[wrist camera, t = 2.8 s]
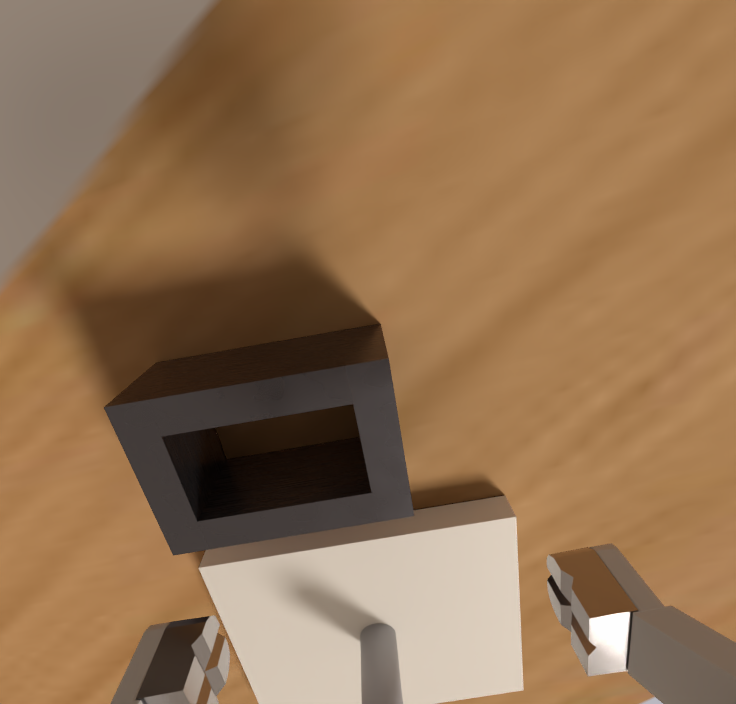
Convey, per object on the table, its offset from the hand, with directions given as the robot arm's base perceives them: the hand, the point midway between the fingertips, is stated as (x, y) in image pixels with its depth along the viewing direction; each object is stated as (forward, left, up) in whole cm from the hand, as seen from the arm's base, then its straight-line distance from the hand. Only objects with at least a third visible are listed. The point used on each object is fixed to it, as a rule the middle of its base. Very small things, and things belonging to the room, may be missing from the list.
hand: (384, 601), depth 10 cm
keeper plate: (+2, +14, -10) cm, 17 cm away
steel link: (+4, 0, -10) cm, 10 cm away
